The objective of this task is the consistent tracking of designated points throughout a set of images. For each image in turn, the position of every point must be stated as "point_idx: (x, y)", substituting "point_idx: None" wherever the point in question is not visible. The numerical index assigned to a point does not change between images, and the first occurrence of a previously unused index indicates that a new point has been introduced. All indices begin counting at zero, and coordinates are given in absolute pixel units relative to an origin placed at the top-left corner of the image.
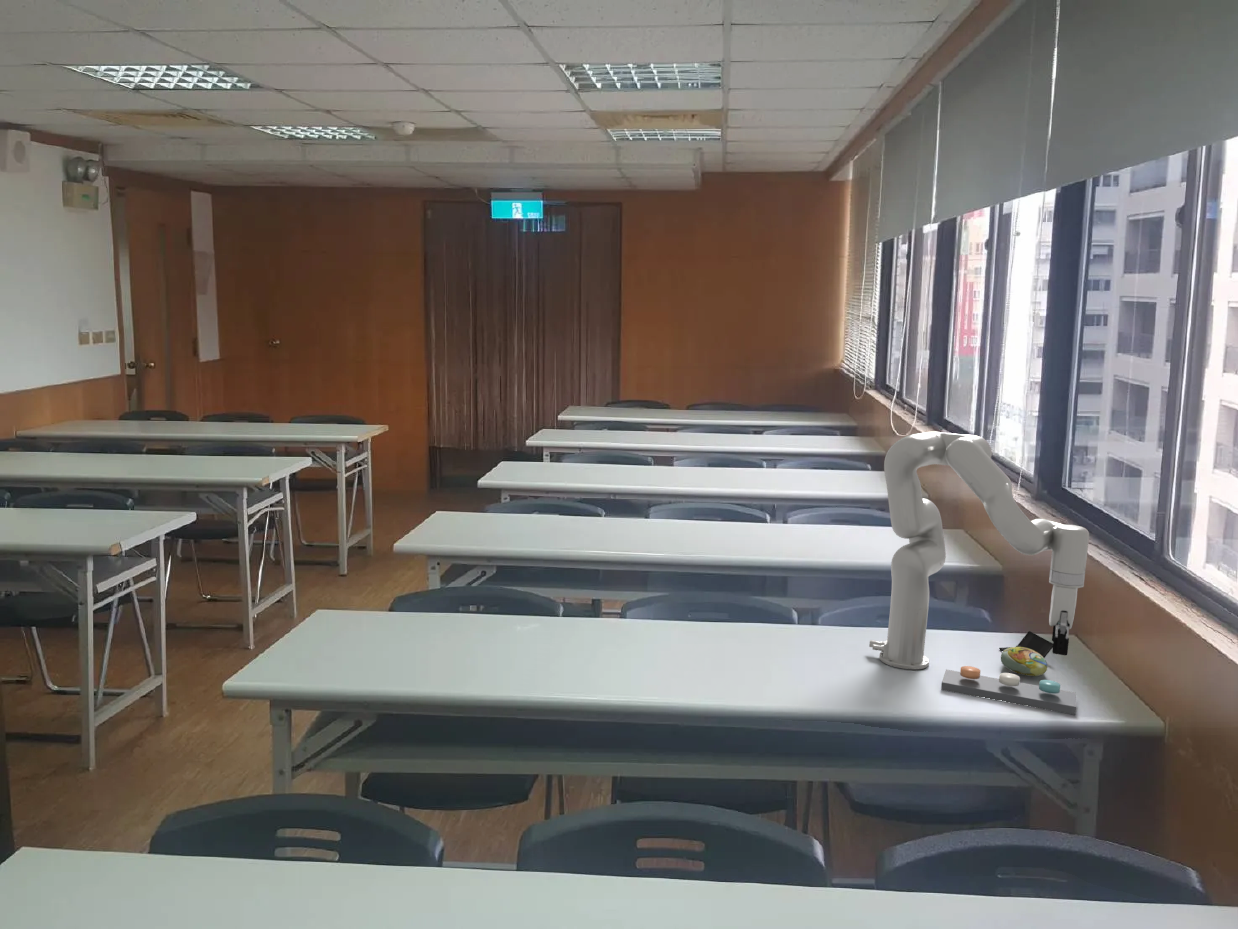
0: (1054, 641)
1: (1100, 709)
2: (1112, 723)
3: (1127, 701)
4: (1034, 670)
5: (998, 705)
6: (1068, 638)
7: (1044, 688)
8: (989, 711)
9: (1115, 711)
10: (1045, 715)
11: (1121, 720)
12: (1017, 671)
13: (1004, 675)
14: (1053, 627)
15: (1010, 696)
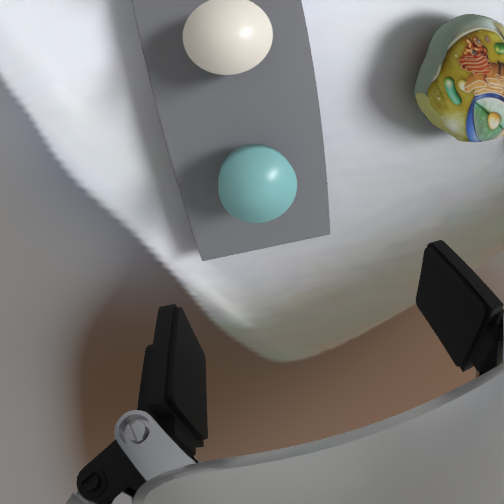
0: (154, 375)
1: (294, 280)
2: (217, 314)
3: (379, 304)
4: (425, 106)
5: (106, 55)
6: (200, 446)
7: (219, 173)
8: (44, 63)
9: (302, 304)
10: (134, 187)
11: (251, 322)
12: (426, 55)
13: (221, 15)
14: (484, 300)
15: (148, 71)
